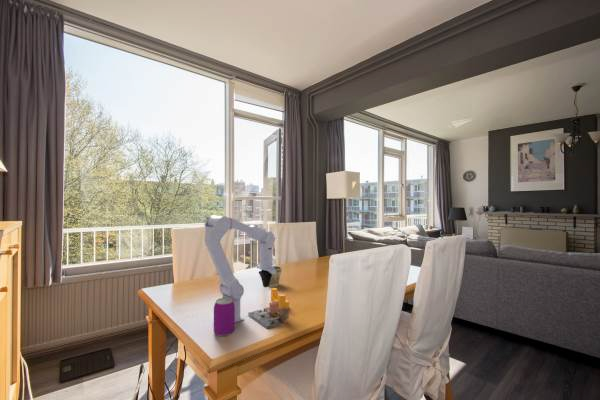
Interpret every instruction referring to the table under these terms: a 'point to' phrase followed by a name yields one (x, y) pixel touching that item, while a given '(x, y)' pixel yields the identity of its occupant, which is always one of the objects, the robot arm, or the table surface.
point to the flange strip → (263, 319)
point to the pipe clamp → (279, 298)
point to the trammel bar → (279, 314)
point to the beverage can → (224, 316)
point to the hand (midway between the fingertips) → (266, 286)
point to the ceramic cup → (275, 277)
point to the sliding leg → (272, 308)
